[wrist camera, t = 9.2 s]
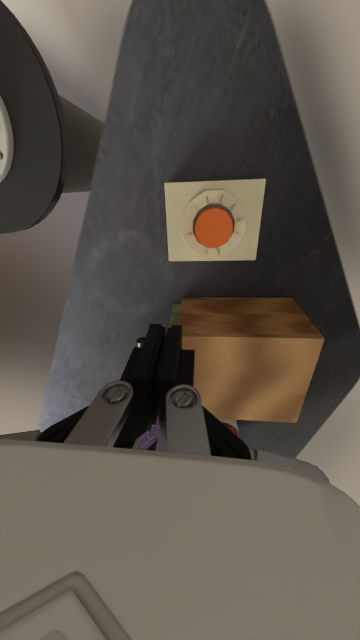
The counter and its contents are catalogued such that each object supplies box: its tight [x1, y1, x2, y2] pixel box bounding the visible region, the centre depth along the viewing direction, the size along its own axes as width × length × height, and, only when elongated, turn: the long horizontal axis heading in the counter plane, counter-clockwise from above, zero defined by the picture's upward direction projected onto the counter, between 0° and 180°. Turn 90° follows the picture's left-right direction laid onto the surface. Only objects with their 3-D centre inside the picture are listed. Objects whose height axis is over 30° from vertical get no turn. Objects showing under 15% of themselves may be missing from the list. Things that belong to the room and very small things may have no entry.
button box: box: [164, 179, 266, 261], centre depth 25 cm, size 10×8×4 cm
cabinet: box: [177, 297, 324, 423], centre depth 30 cm, size 15×13×10 cm
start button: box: [195, 207, 233, 248], centre depth 23 cm, size 4×4×2 cm
